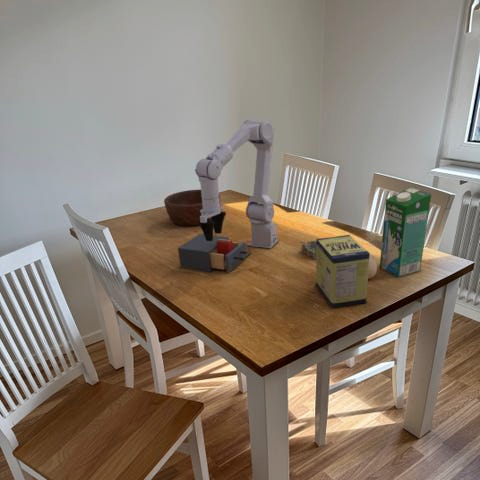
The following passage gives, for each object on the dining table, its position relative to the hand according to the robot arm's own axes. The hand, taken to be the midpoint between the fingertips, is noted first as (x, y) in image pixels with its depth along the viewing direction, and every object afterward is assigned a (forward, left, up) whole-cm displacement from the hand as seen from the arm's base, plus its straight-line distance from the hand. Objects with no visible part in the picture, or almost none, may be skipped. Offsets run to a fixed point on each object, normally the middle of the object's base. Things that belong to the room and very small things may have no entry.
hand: (213, 236), depth 156 cm
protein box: (-47, +7, -11) cm, 49 cm away
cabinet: (+5, -1, -10) cm, 12 cm away
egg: (-52, -6, -11) cm, 53 cm away
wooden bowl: (+35, -41, -11) cm, 55 cm away
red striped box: (-4, -1, -9) cm, 9 cm away
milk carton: (-60, -16, -11) cm, 63 cm away
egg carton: (-30, -20, -11) cm, 37 cm away
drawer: (-5, -1, -10) cm, 11 cm away
